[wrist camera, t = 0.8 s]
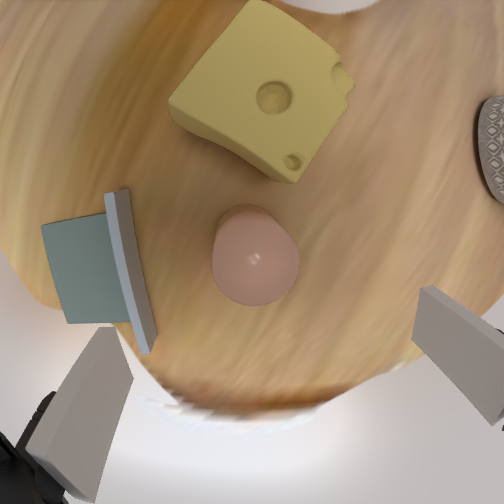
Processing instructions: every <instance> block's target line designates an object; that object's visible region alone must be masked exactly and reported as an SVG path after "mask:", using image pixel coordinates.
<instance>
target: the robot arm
mask: <svg viewBox="0 0 504 504" xmlns="http://www.w3.org/2000/svg"><path fill="white" fill-rule="evenodd" d="M411 340H412V341H413V342H414V343H415V344H416V345H417V346H418V347H419V348H420V349H421V350H422V351H423V352H424V353H425V354H426V355H427V356H428V357H429V358H430V359H431V360H432V361H433V362H434V363H435V364H436V365H437V366H438V367H439V368H440V369H441V370H442V372H443V373H444V374H445V375H446V376H447V377H448V378H449V379H450V380H451V381H452V382H453V383H454V384H455V385H456V387H457V388H458V389H459V390H460V391H461V392H462V393H463V394H464V395H465V396H466V397H467V399H468V400H469V401H470V402H471V403H472V404H473V405H474V406H475V408H477V410H478V411H479V412H480V413H481V414H482V415H483V417H484V418H485V419H486V420H487V421H488V422H489V424H490V425H491V426H493V425H494V424H495V423H497V422H498V421H500V419H502V418H503V417H504V333H503V332H502V331H501V330H499V329H496V328H494V327H493V326H491V325H490V324H488V323H487V322H486V321H484V320H483V319H481V318H480V317H479V316H477V315H476V314H474V313H473V312H472V311H470V310H469V309H467V308H466V307H464V306H463V305H461V304H460V303H458V302H457V301H455V300H454V299H452V298H451V297H449V296H448V295H446V294H445V293H443V292H442V291H440V290H439V289H437V288H436V287H434V286H433V285H432V286H427V287H423V288H420V294H419V300H418V306H417V312H416V318H415V323H414V328H413V333H412V337H411ZM133 379H134V378H133V376H132V373H131V371H130V368H129V365H128V363H127V360H126V357H125V355H124V352H123V349H122V346H121V343H120V341H119V338H118V335H117V332H116V329H115V327H99V328H98V330H97V331H96V332H95V334H94V335H93V337H92V338H91V340H90V341H89V343H88V344H87V346H86V347H85V349H84V350H83V352H82V353H81V355H80V356H79V358H78V359H77V361H76V362H75V364H74V365H73V367H72V368H71V370H70V372H69V373H68V375H67V376H66V378H65V379H64V381H63V383H62V384H61V386H60V387H59V389H58V391H57V392H55V391H52V392H51V393H50V394H49V395H47V396H46V397H45V398H44V399H43V400H42V402H41V403H40V405H39V406H38V408H37V412H35V413H34V415H33V416H32V420H30V422H29V423H28V425H27V427H26V429H25V430H24V432H23V434H22V436H21V438H20V439H19V441H18V443H17V445H16V447H15V448H14V447H13V445H12V444H11V443H10V442H9V441H8V439H7V438H6V437H5V436H4V435H3V433H1V432H0V504H69V503H68V501H67V500H66V499H65V497H64V496H63V495H64V492H65V490H66V491H67V492H68V493H69V494H71V495H72V496H73V497H74V498H76V499H79V500H83V501H86V502H90V503H95V499H96V495H97V492H98V488H99V484H100V480H101V477H102V473H103V469H104V466H105V463H106V460H107V456H108V453H109V450H110V447H111V443H112V440H113V437H114V434H115V431H116V427H117V425H118V421H119V419H120V415H121V413H122V410H123V407H124V404H125V401H126V398H127V395H128V393H129V390H130V387H131V384H132V382H133ZM502 431H504V425H503V428H502Z"/></svg>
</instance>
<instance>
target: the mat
mask: <svg viewBox="0 0 504 504" xmlns="http://www.w3.org/2000/svg"><path fill="white" fill-rule="evenodd" d="M41 229H42V234H43V239H44V244H45V249H46V253H47V257H48V261H49V265H50V269H51V273H52V276H53V280H54V283H55V287H56V290H57V293H58V297H59V300H60V303H61V306H62V309H63V312H64V314H65V317H66V320H67V322H68V324H72V323H73V324H77V323H116V322H131V320H130V317H129V313H128V310H127V306H126V302H125V299H124V295H123V291H122V287H121V283H120V279H119V275H118V270H117V266H116V262H115V257H114V252H113V247H112V242H111V237H110V231H109V226H108V220H107V214H106V213H102V214H96V215H91V216H85V217H80V218H75V219H70V220H65V221H60V222H55V223H50V224H45V225H42V226H41Z"/></svg>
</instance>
